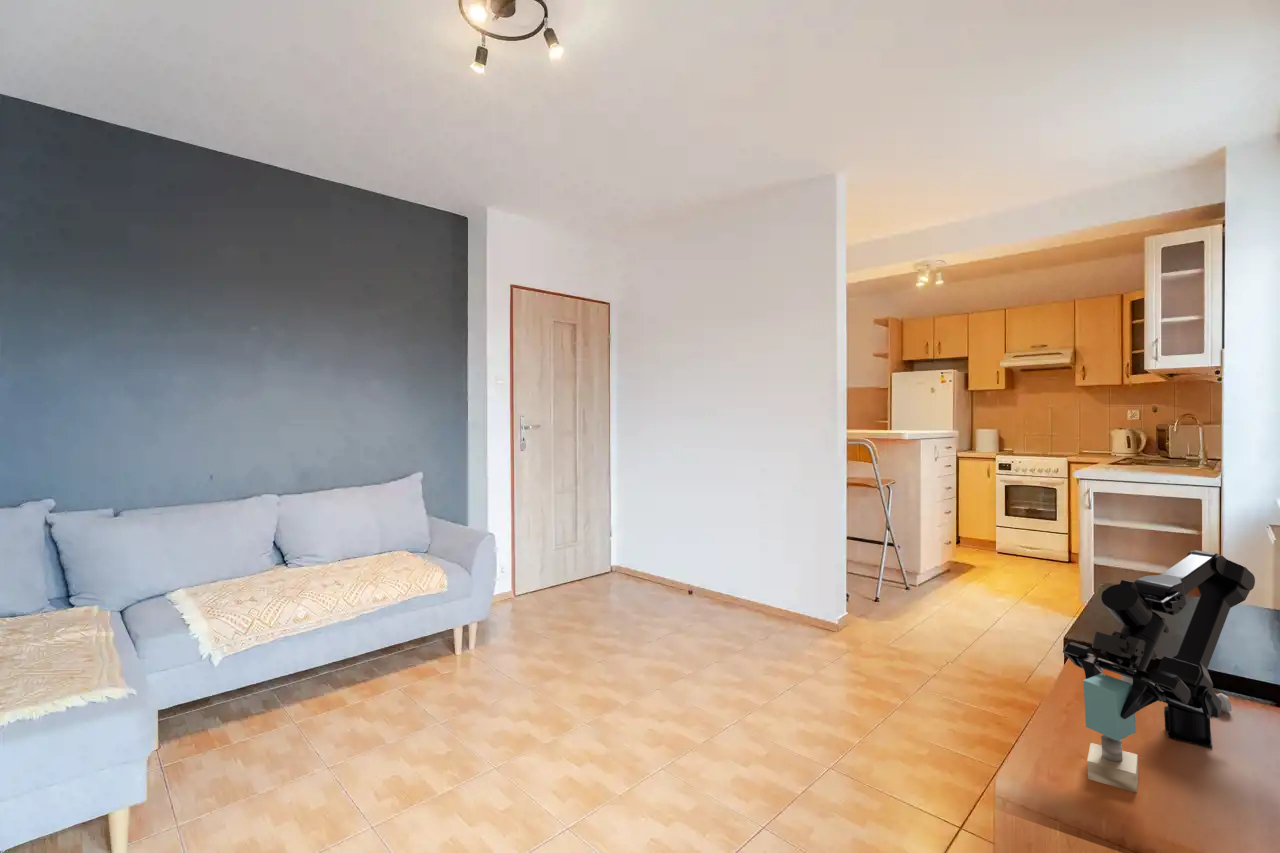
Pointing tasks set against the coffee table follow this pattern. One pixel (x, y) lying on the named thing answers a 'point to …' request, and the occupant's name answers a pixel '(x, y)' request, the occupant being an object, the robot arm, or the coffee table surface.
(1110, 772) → the post pedestal
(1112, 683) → the teal square top
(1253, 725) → the coffee table surface
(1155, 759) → the coffee table surface
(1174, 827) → the coffee table surface
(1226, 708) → the smooth white sculpture
